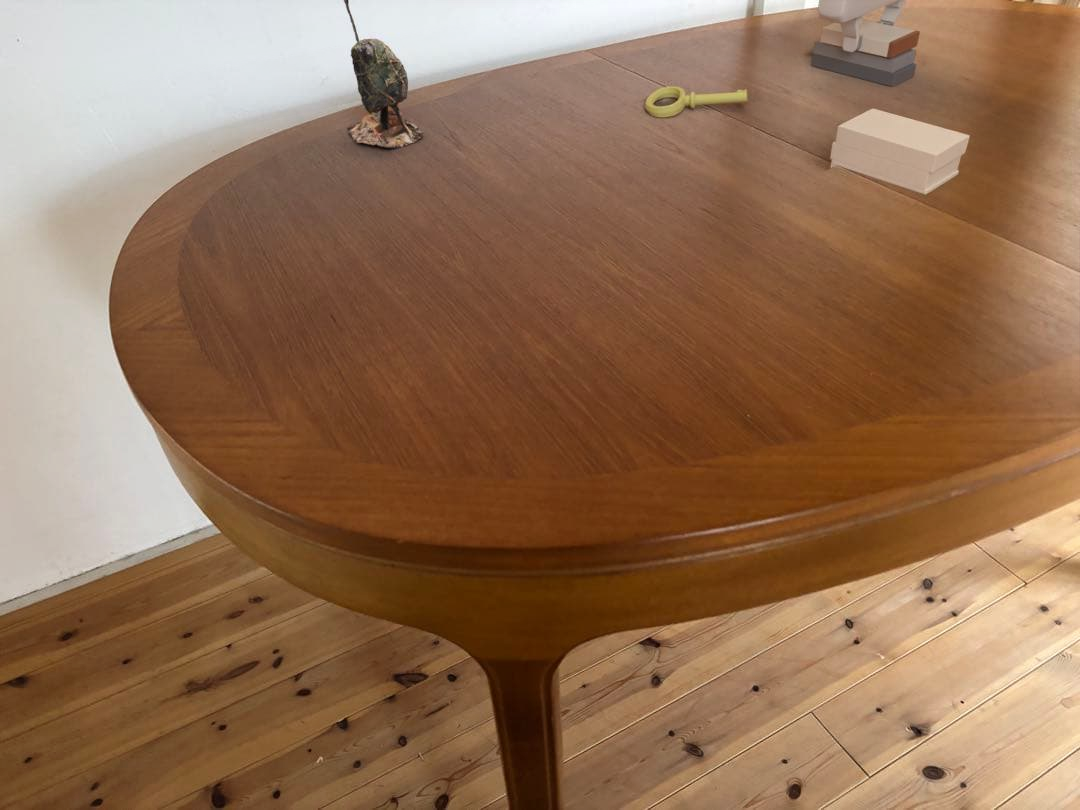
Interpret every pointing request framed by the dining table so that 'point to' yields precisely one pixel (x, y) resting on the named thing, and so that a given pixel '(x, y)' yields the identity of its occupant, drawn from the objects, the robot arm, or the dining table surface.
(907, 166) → the beige box
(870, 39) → the white book
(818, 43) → the grey stack
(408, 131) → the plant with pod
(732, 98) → the key
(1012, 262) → the dining table surface
